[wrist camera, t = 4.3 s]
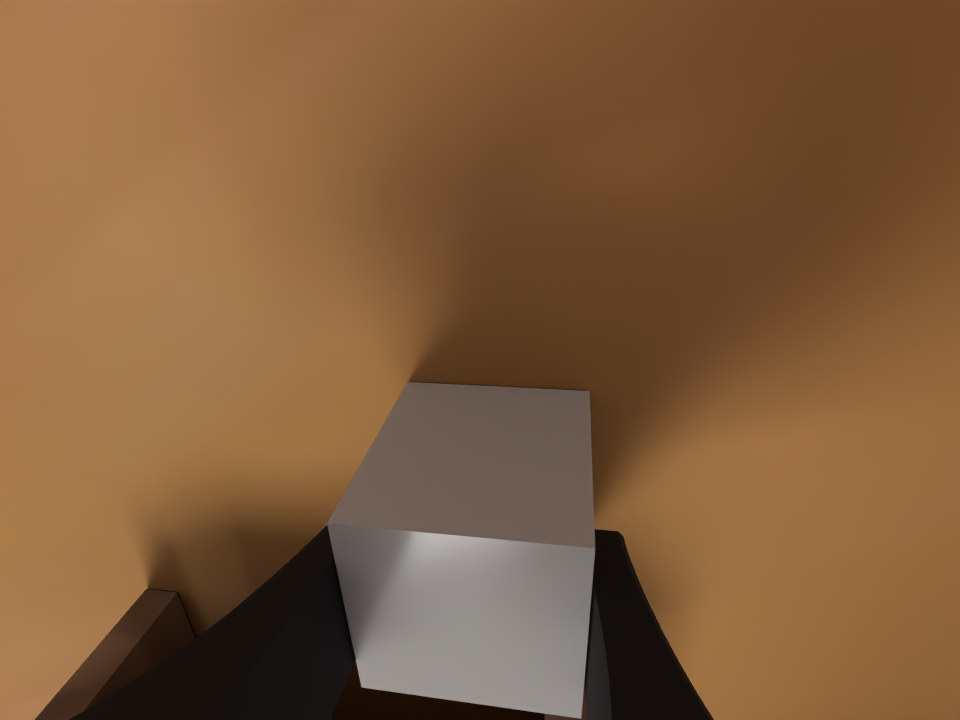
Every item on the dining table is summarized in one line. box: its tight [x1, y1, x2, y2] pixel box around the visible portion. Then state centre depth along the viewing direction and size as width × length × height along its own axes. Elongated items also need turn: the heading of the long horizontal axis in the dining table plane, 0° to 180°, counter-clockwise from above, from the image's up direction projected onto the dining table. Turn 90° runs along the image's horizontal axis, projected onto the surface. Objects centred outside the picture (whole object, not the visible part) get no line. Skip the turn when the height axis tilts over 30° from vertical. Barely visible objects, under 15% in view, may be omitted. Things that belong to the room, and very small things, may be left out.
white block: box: [327, 382, 595, 719], centre depth 12 cm, size 4×4×5 cm
